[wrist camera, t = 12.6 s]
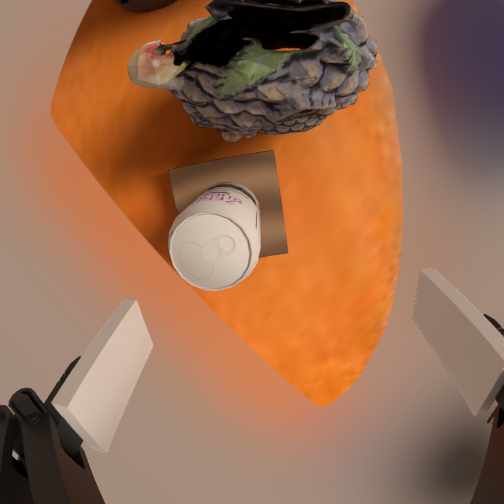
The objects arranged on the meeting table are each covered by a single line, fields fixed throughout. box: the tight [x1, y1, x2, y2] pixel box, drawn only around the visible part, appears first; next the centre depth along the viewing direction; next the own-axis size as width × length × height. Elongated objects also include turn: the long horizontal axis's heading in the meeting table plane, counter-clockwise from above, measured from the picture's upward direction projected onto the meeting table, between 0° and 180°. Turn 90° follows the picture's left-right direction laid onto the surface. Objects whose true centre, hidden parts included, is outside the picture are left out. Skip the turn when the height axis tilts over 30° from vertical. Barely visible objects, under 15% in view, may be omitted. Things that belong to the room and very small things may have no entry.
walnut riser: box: [168, 150, 288, 257], centre depth 39 cm, size 14×14×4 cm
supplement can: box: [168, 182, 261, 291], centre depth 30 cm, size 8×8×15 cm
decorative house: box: [127, 0, 377, 142], centre depth 23 cm, size 21×15×25 cm
